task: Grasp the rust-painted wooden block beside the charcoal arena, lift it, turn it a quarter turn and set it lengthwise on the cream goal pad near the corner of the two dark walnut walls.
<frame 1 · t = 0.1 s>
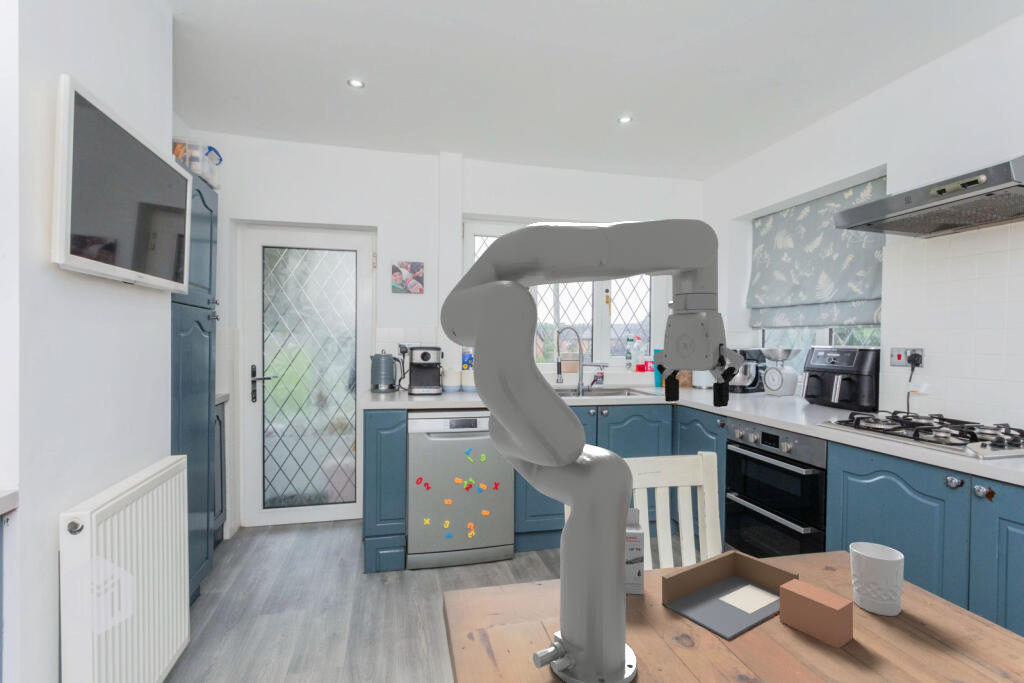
hand: (695, 403, 85), 37 cm above the table, tool pointing down, fingers open, 9 cm apart
rust block: (815, 629, 80), on the table
white cup: (876, 607, 87), on the table
arena: (726, 600, 89), on the table
ink box: (619, 588, 94), on the table
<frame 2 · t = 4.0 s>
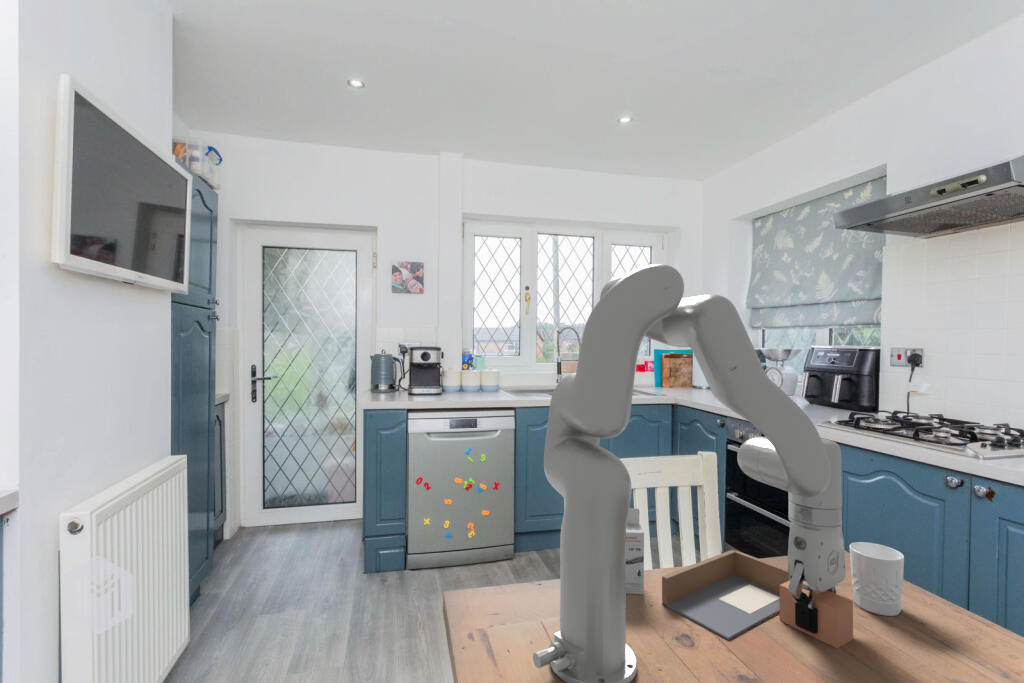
hand: (815, 622, 80), 1 cm above the table, tool pointing down, fingers closed on rust block, 5 cm apart
rust block: (815, 629, 80), on the table, touching gripper
everything else where it was.
when the fingers open (3 cm above the table, at t = 10.1 s): rust block drops 1 cm, resting on arena.
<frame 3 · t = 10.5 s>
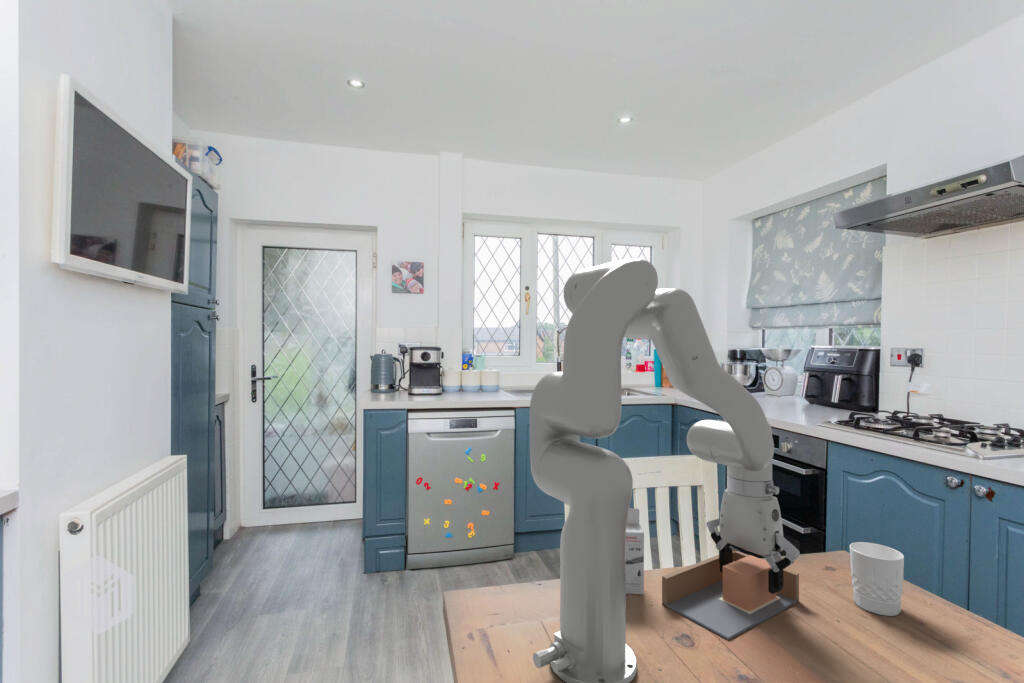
hand: (749, 580, 89), 4 cm above the table, tool pointing down, fingers open, 9 cm apart
rust block: (749, 598, 89), resting on arena
everything else where it was.
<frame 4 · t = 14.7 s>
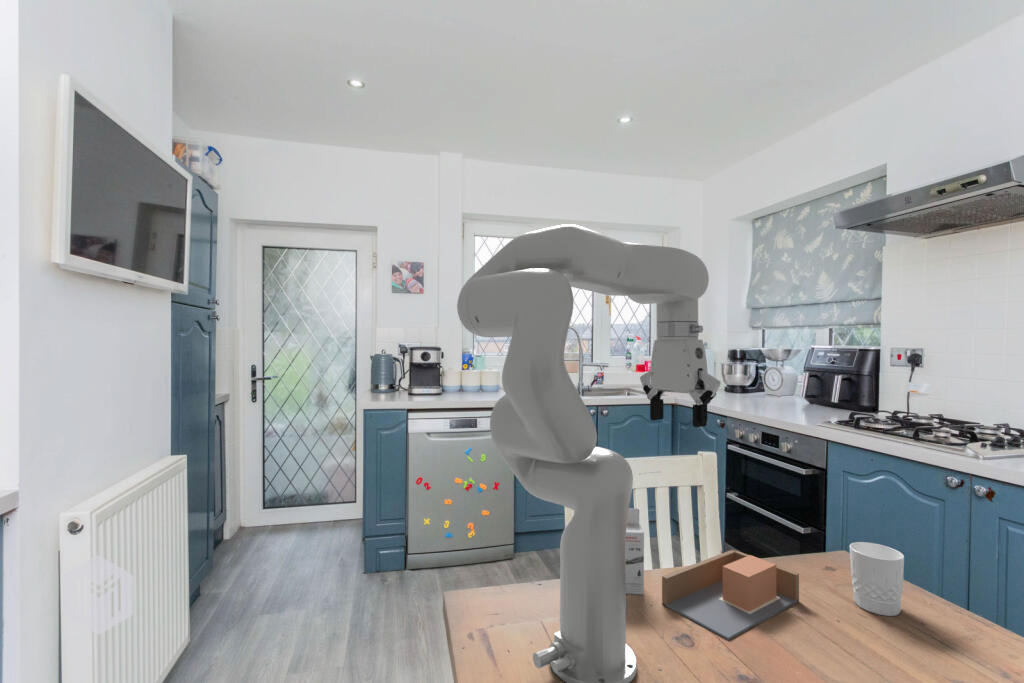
hand: (677, 422, 91), 32 cm above the table, tool pointing down, fingers open, 9 cm apart
nothing on the table moved.
at the end: rust block 0.1 cm from the target spot on the arena, point 0.5 cm above the arena's base; rust block tilted 0°; the gripper is holding nothing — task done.
